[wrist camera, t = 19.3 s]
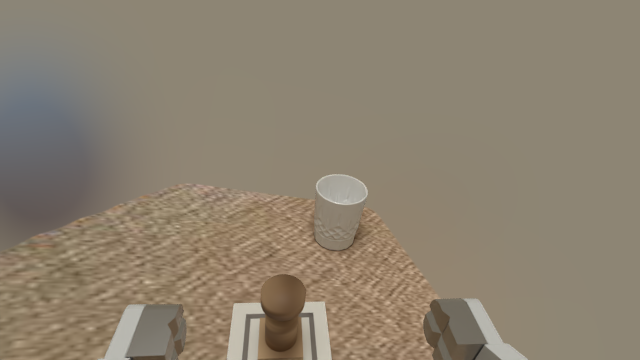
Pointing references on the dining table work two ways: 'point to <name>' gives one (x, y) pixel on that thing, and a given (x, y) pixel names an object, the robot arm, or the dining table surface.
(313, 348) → the print card
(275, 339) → the stamp
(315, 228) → the white cup
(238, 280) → the dining table surface
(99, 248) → the dining table surface
